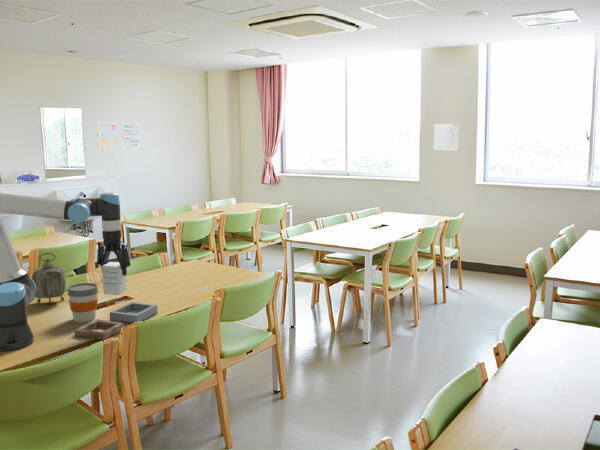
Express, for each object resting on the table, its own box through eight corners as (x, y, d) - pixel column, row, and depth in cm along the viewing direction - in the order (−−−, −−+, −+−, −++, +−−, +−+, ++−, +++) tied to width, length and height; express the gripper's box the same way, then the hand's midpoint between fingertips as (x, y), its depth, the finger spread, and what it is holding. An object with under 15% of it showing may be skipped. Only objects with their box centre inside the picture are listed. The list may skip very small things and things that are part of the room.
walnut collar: (103, 340, 217) (102, 334, 217) (74, 335, 222) (74, 330, 221) (124, 328, 230) (124, 323, 230) (97, 324, 235) (97, 319, 234)
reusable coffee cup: (69, 316, 245) (67, 284, 242) (99, 313, 249) (97, 281, 247) (68, 325, 233) (66, 292, 231) (99, 322, 238) (98, 289, 235)
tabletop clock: (67, 299, 270) (64, 250, 266) (66, 304, 261) (62, 254, 257) (35, 301, 265) (31, 252, 261) (32, 307, 257) (29, 256, 252)
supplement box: (111, 289, 236) (109, 261, 234) (127, 290, 235) (125, 262, 233) (102, 294, 229) (101, 265, 227) (119, 295, 228) (117, 266, 226)
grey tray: (136, 324, 235) (136, 315, 235) (110, 320, 240) (109, 312, 239) (157, 313, 250) (157, 305, 250) (131, 309, 255) (131, 301, 254)
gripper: (138, 229, 227) (140, 281, 231) (97, 226, 234) (100, 277, 238) (126, 232, 220) (129, 286, 224) (85, 229, 227) (88, 281, 231)
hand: (114, 281), depth 231 cm, fingers closed on supplement box, 8 cm apart
